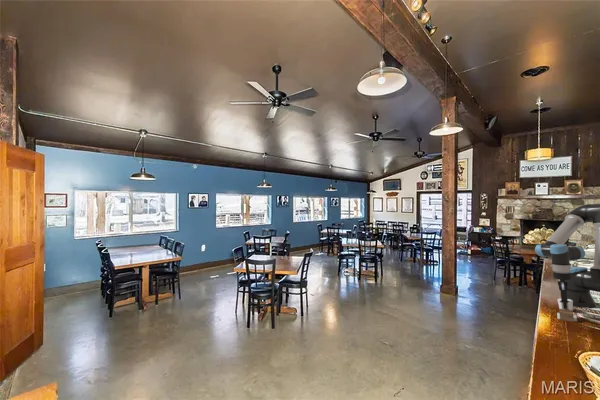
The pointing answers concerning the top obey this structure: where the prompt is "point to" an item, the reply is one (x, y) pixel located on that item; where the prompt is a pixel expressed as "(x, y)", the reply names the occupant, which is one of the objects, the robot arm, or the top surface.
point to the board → (573, 316)
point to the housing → (566, 315)
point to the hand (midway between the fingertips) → (565, 313)
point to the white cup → (570, 303)
